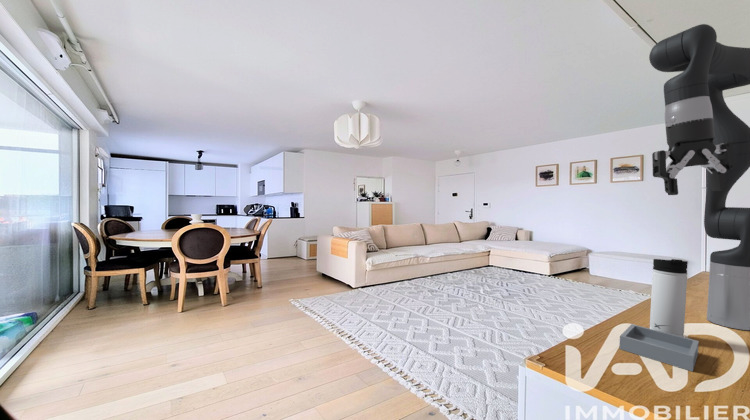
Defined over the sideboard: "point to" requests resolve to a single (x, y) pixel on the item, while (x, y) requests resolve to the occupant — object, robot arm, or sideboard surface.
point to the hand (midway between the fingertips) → (694, 192)
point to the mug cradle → (660, 346)
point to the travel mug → (668, 296)
